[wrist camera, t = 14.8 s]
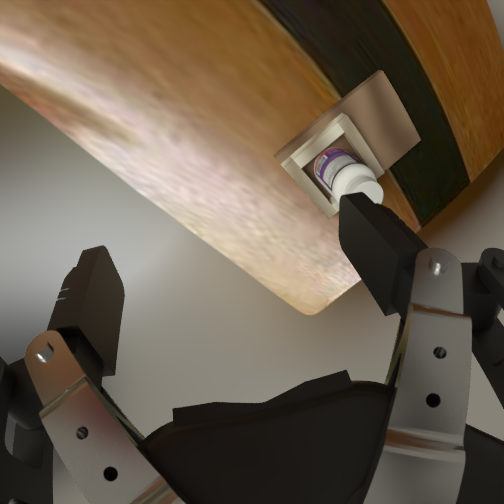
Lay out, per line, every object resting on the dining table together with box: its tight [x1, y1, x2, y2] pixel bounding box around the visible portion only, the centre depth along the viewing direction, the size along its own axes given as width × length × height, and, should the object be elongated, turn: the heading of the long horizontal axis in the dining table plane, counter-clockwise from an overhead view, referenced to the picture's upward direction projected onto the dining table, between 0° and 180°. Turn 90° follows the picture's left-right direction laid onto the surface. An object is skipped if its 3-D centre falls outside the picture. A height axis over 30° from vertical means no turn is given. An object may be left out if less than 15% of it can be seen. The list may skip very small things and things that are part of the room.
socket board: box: [274, 70, 421, 219], centre depth 38 cm, size 18×12×2 cm, turn 131°
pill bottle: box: [314, 147, 383, 204], centre depth 35 cm, size 5×5×10 cm
